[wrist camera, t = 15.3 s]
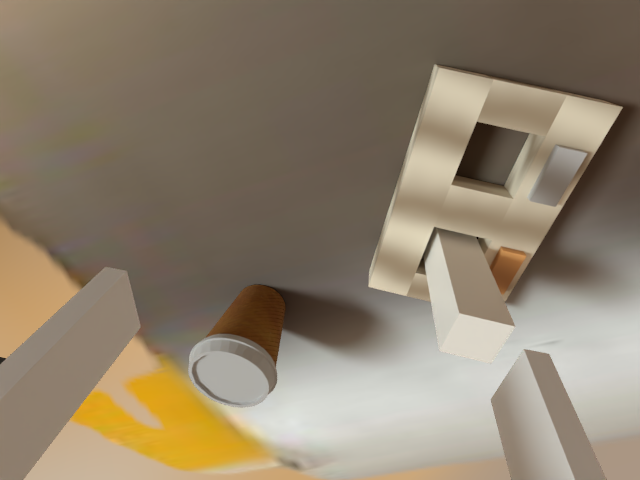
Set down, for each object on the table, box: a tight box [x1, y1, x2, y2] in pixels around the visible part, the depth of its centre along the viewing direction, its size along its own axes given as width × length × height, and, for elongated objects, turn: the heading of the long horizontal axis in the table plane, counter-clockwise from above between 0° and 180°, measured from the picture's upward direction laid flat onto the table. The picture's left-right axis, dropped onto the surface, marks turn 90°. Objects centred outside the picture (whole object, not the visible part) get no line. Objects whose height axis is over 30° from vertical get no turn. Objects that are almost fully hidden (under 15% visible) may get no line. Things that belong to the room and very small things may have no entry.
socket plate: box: [368, 64, 623, 302], centre depth 34 cm, size 22×14×4 cm, turn 170°
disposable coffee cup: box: [188, 285, 286, 407], centre depth 42 cm, size 10×10×12 cm
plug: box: [423, 227, 515, 363], centre depth 32 cm, size 4×4×14 cm
